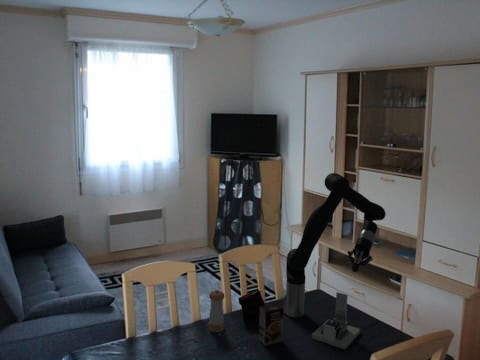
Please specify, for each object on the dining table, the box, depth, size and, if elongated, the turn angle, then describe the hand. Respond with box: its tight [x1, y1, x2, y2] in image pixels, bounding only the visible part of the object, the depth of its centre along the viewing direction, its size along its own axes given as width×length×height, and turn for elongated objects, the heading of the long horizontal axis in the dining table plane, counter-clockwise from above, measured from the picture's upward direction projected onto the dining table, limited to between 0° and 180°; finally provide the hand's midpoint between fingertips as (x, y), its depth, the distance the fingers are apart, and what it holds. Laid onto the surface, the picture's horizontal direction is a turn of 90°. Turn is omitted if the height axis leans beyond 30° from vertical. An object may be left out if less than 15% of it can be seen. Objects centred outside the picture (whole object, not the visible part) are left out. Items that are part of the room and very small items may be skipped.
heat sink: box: [321, 318, 349, 340], centre depth 217 cm, size 10×8×4 cm
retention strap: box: [333, 291, 349, 322], centre depth 220 cm, size 6×1×13 cm, turn 55°
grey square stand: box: [311, 318, 361, 350], centre depth 218 cm, size 16×18×8 cm
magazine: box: [237, 288, 265, 322], centre depth 232 cm, size 4×13×15 cm, turn 96°
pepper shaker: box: [208, 289, 225, 333], centre depth 221 cm, size 7×7×19 cm
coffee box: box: [258, 302, 285, 347], centre depth 212 cm, size 9×6×16 cm
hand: (354, 271), depth 229 cm, fingers closed
